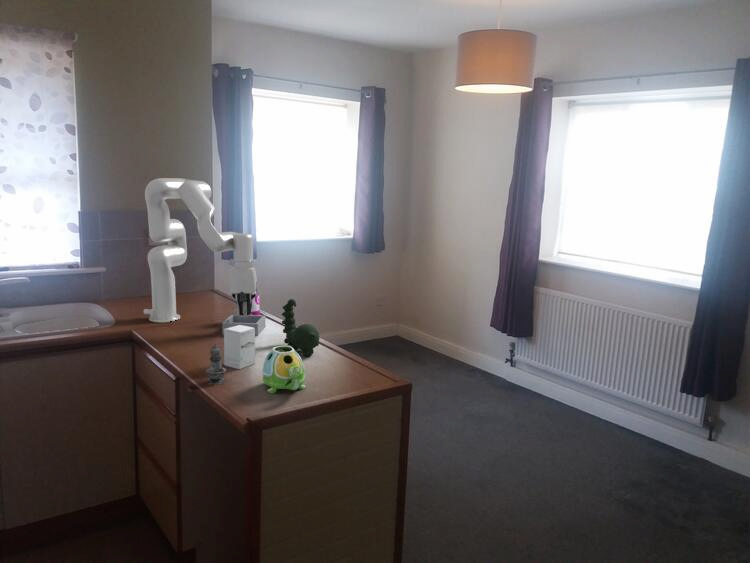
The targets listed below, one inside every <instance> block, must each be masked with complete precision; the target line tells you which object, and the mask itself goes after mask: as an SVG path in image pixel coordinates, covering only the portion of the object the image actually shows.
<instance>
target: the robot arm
mask: <svg viewBox="0 0 750 563" xmlns="http://www.w3.org/2000/svg"><path fill="white" fill-rule="evenodd" d="M144 190H145V191H144V198H145V199H144V200H145V202H146V208H147V209H146V210H147V218H148V219H147V220H148V231H149V233H148V234H149V237H150V240H152V241H153V242H154V243H160V244H161V243H167V244H165V245H158V246H155V247H153V248H151V249H150V250H149V251H148V252H147V263H148V266H149V271H150V282H151V283H150V284H151V302H152V303H151V304H152V306H151V307H152V308H151V309H148V308H144V309H143V314H144V315H147V316H148V315H149V317H148V320H149V321H150V322H151V323H152V322H153V323H171V322H170V321H172V322H176V321H175V320H177V321H178V319H179V320H180V319H181V315H180V314H178V313H177V300H176V299H177V296H176V293H177V292H176V277H175V275H174V272H173V270H172V268H173V267H178V266H182V265H183V264H185V263H186V260H187V259H188V258H187V257H188V248H187V234H186V232H187V231H186V228H185V226H184V224H183V222H181V221H180V220H179V219H176V218H171V214H170V209H169V206H168V203H167V202H166V201H165V200H175V199H176V200H177V199H179V200H180V199H181V200H182V202H184V204H185V205H186V207H187V208H188V210H189V211H190V212H191V213H192V215H193V216H194V217H195V219H196V220H197V222H196V223H197V224H196V225H197V231H198V234H199V236H200V238H201V239H202V241H203V242H204V243H205V244H206V246H207V247H208V249H210V250H211V251H213V252H215V253H224V252H229V251H233V260H232V261H230V262H229V264H230V265H231V266H233V267H232V268H231V270H230V280H229V288H228V291H227V293H226V294H228V296H229V295H230V296H232V297H233V299H235V301H236V302H237V294H239V293H240V292H244V293H246V294H250V301H251V302H252V299H253V298H254V297H256V296H258V295H259V296H260V295H261V293H262V292H261V290H260V288H259V287H258V279H257V271H256V268H255V267H254V243H253V242H254V238H253V235H252V234H251V233H246V232H244V233H243V232H242V233H241V232H237V231H236V232H235V231H223V232H222V231H221V232H218V230H217V228H215V226H214V225H213V223H212V221H211V218H213V216H214V215H215V213H216V207H215V206H214V205H213V203H212V202H211V200H210V199H211V197H212V189H211V187H210V185H209V184H208V183H207V182H205V181H204V180H196V179H195V180H194V179H189V178H188V179H187V178H179V177H178V178H176V177H175V178H173V177H172V178H171V177H168V178H167V177H162V178H155V179H152V180H151V181H149V183H147V185H146V187H145V189H144ZM255 291H256V293H255ZM253 293H255V294H253ZM251 305H252V304H251ZM251 308H252V306H251Z"/></svg>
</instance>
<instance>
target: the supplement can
mask: <svg viewBox="0 0 750 563" xmlns="http://www.w3.org/2000/svg"><path fill="white" fill-rule="evenodd" d="M255 293H256V291H255ZM255 293H253V294H255ZM252 315H260V295H258V296H256V297H254V298H253V299H252Z"/></svg>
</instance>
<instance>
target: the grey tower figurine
mask: <svg viewBox="0 0 750 563" xmlns="http://www.w3.org/2000/svg"><path fill="white" fill-rule="evenodd" d="M222 359H223V357H222V355H221V347H220V346H217V344H216V343H214V346H212V347H211V348H210V357H209V360H210V367H209V368H207V369H206V370H205V372H206V374H207V377H208V378H209V379H208V380H207V381H206V382H207V384H209V385H221V384H224V383H225V382H226V380H225V379H224V378H223V377H224V376H225V374H226V371H227V368H225V367H222Z"/></svg>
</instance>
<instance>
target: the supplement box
mask: <svg viewBox="0 0 750 563" xmlns="http://www.w3.org/2000/svg"><path fill="white" fill-rule="evenodd" d="M223 352H224V354H223V356H224V357H223V359H224V361H223V362H224V364H223V365H224V366H225V367H230V368H233V369H237V370H241V369H244V368H247V367H249V366H253V365H255V364H256V336H255V328H253V327H248V326H243V325H237V326H234V327H230V328H226V329H224V335H223Z"/></svg>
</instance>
